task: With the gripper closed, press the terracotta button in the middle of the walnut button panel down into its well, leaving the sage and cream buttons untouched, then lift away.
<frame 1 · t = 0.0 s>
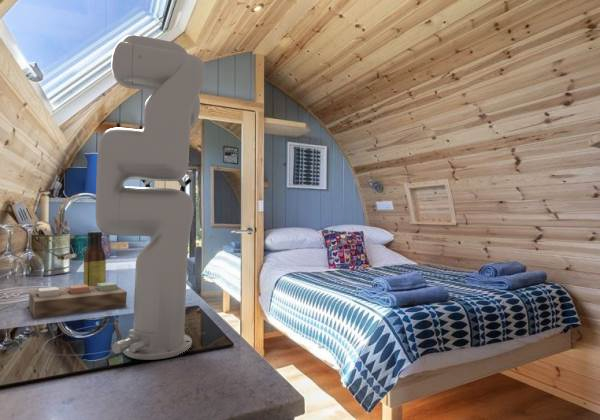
hand: (165, 198, 114), 31 cm above the worktop, tool pointing down, fingers open, 9 cm apart
sauce bottle: (93, 293, 117), on the worktop
cream button: (48, 294, 96), point 4 cm above the worktop, slide at 0.0 cm
button panel: (78, 306, 100), on the worktop
terracotta button: (78, 291, 100), point 4 cm above the worktop, slide at 0.0 cm
sage button: (106, 289, 105), point 4 cm above the worktop, slide at 0.0 cm
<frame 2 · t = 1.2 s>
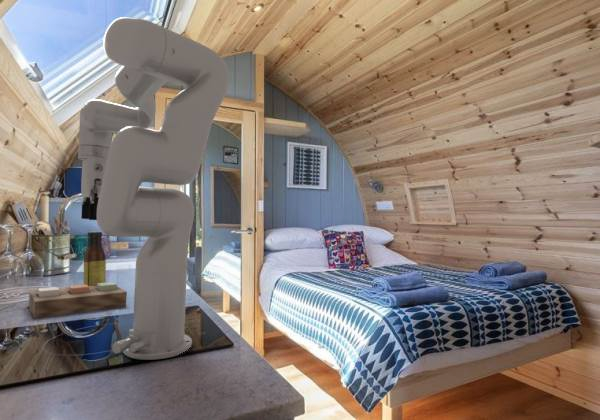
hand: (91, 219, 95), 24 cm above the worktop, tool pointing down, fingers open, 9 cm apart
nothing on the worktop moved.
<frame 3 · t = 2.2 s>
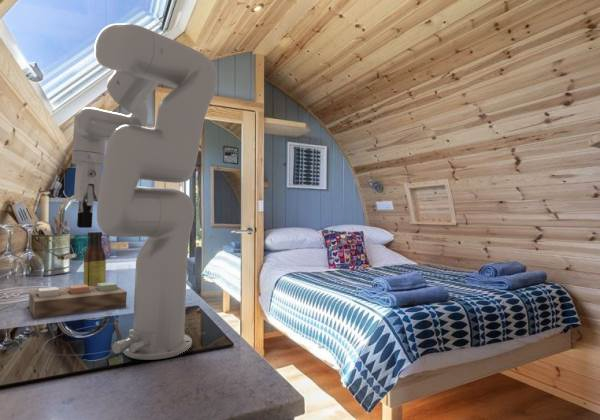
hand: (84, 227, 98), 22 cm above the worktop, tool pointing down, fingers closed
nothing on the worktop moved.
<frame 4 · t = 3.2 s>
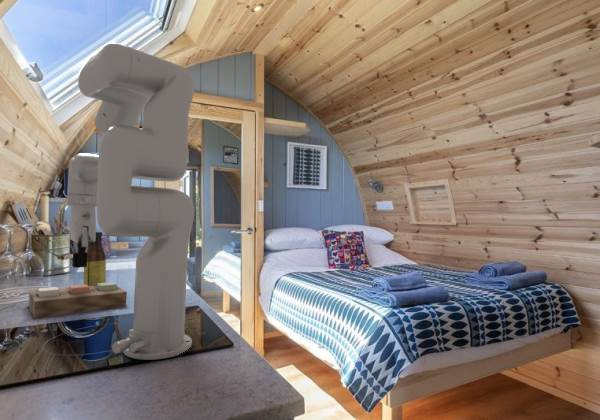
hand: (79, 266, 101), 11 cm above the worktop, tool pointing down, fingers closed
nothing on the worktop moved.
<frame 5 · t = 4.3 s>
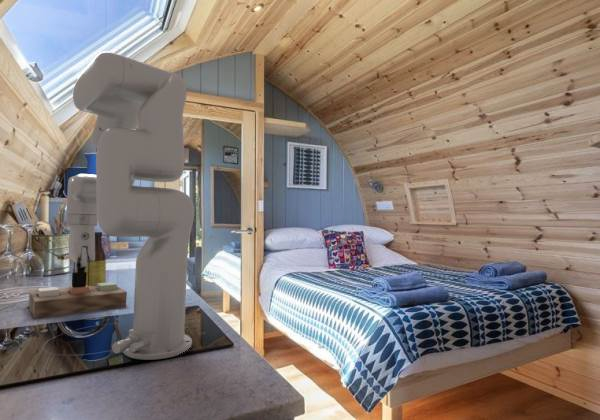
hand: (78, 286, 100), 5 cm above the worktop, tool pointing down, fingers closed
terracotta button: (78, 292, 100), point 4 cm above the worktop, slide at 0.1 cm, touching gripper
everything else where it was.
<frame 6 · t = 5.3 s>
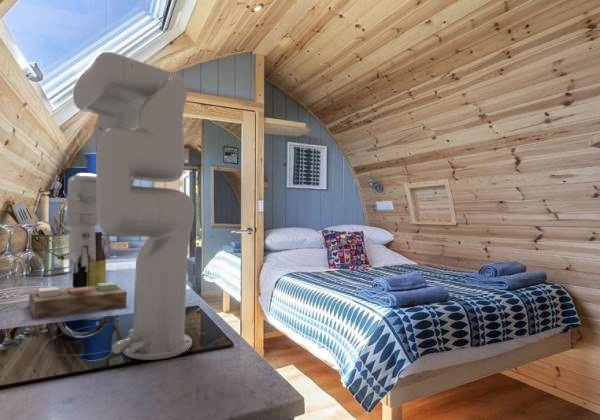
hand: (79, 286, 100), 5 cm above the worktop, tool pointing down, fingers closed
terracotta button: (78, 295, 100), point 3 cm above the worktop, slide at 1.0 cm
everything else where it was.
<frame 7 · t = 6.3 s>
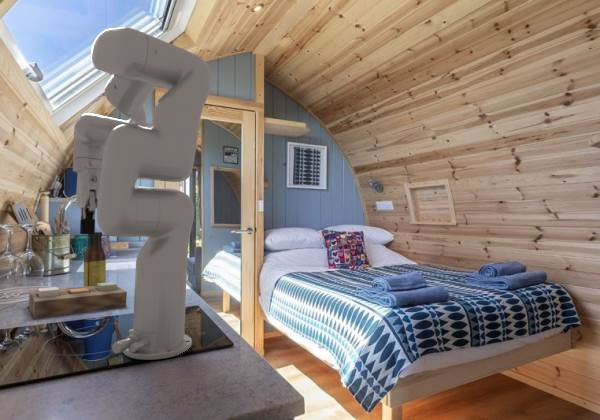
hand: (87, 233, 98), 20 cm above the worktop, tool pointing down, fingers closed
nothing on the worktop moved.
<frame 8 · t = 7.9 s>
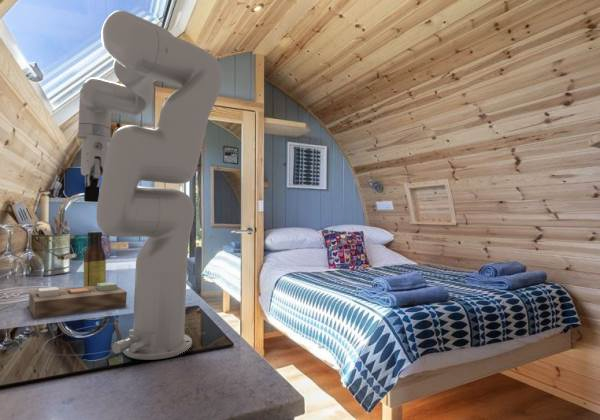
hand: (91, 201, 97), 29 cm above the worktop, tool pointing down, fingers closed
nothing on the worktop moved.
at the end: terracotta button slide at 1.0 cm; sage button slide at 0.0 cm; cream button slide at 0.0 cm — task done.
